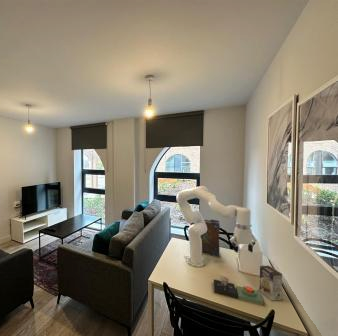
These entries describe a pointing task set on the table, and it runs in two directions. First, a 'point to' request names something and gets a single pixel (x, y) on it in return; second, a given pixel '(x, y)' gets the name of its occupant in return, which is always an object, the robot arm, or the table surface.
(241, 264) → the gable box
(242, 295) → the button housing
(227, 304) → the table surface
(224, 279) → the dial
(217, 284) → the control panel
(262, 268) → the coffee box
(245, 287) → the button
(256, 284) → the table surface
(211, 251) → the decorative book
